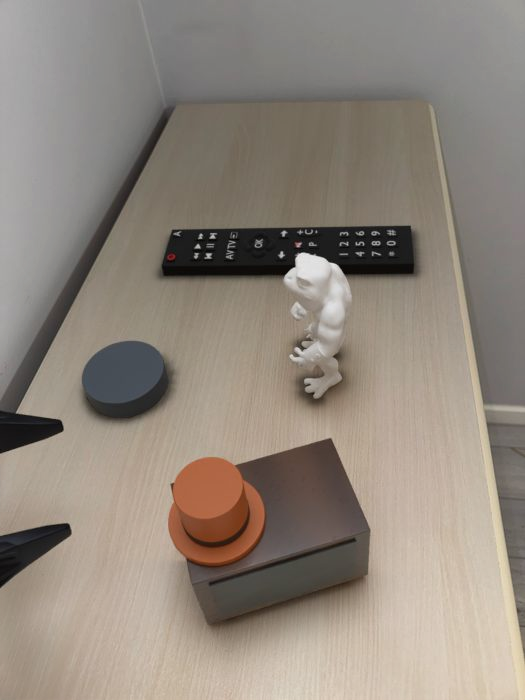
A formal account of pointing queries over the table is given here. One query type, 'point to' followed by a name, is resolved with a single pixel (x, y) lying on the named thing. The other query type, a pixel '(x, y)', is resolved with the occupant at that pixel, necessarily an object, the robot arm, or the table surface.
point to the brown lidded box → (291, 535)
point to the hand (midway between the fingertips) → (66, 473)
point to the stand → (125, 378)
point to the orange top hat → (214, 513)
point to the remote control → (288, 250)
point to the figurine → (320, 316)
